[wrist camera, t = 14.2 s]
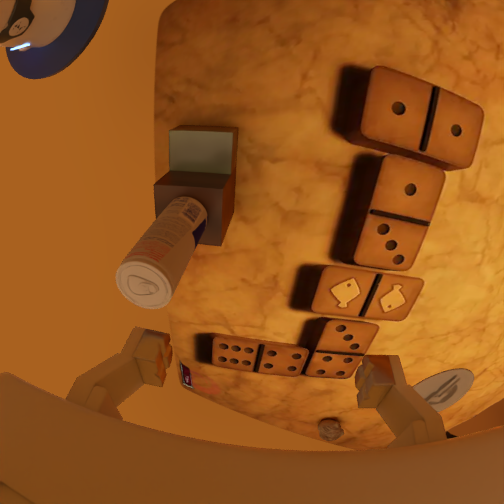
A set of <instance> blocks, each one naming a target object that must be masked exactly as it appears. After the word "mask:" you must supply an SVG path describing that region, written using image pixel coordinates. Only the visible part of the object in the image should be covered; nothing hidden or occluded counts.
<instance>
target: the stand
mask: <svg viewBox="0 0 504 504" xmlns="http://www.w3.org/2000/svg"><path fill="white" fill-rule="evenodd" d="M237 144H238V127H221V126H195V125H180V126H178V127H176V128H173V129H171V130H169V167H170V171H169V172H168V173H166V174H165V175H164V176H163V177H162V178H161V179H159V180H158V181H157V182H156V183H155V184H154V199H155V214H156V219H157V218H158V216H159V215H160V214H161V213H162V212H163V210H164V209H165V208H166V207H167V206H168V205H169V203H170V202H171V201H172V200H174V199H176V198H178V197H190V198H193V199H195V200H197V201H199V202H200V203H201V204H202V205H203V206H204V208H205V210H206V212H207V215H208V223H207V226H206V228H205V230H204V232H203V234H202V236H201V238H200V240H199V242H198V244H205V245H214V246H221V245H222V243H223V240H224V237H225V235H226V232H227V229H228V226H229V224H230V221H231V218H232V216H233V213H234V198H235V179H236V161H237Z"/></svg>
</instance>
